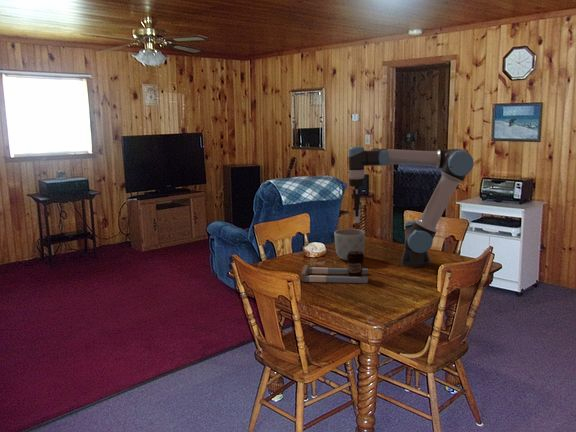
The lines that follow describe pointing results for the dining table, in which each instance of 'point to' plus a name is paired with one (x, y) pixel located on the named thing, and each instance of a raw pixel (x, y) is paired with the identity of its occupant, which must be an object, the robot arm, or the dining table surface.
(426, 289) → the dining table surface
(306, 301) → the dining table surface
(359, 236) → the planter
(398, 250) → the dining table surface
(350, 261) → the coffee cup
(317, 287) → the dining table surface
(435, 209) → the robot arm
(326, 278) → the beam slot
